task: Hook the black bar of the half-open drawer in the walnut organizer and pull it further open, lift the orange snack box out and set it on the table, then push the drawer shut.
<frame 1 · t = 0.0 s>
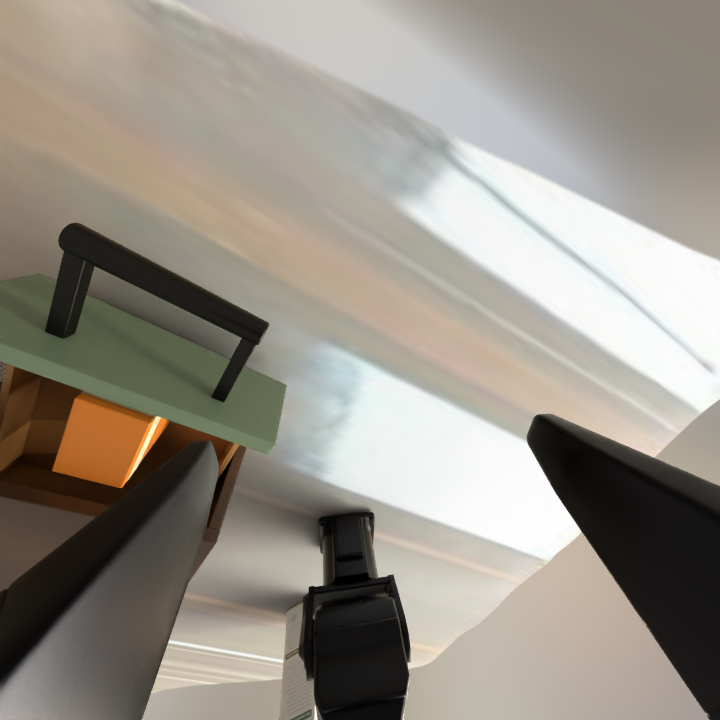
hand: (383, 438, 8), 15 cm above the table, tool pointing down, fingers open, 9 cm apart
drawer: (132, 419, 18), point 4 cm above the table, slide at 6.5 cm, touching snack box
organizer: (126, 470, 25), on the table
snack box: (157, 387, 20), point 2 cm above the table, touching drawer
syrup box: (314, 606, 41), on the table
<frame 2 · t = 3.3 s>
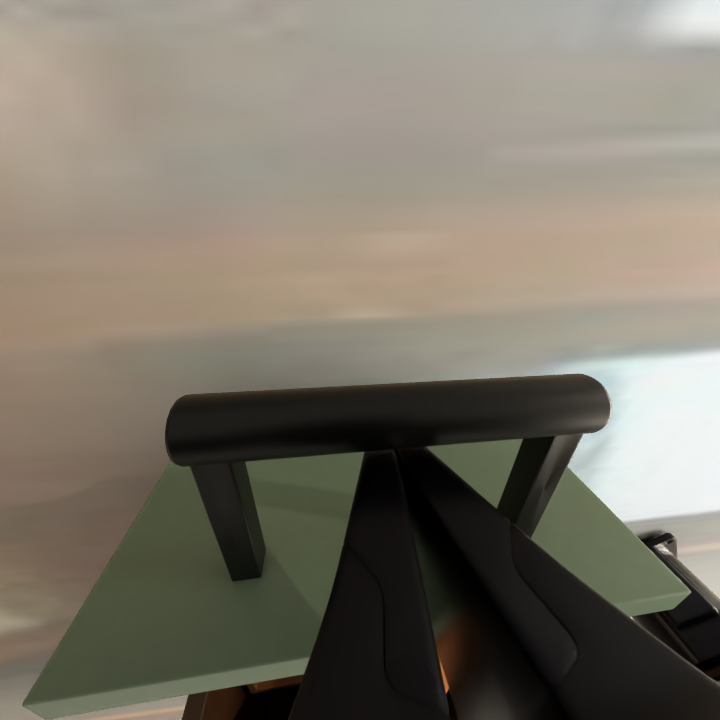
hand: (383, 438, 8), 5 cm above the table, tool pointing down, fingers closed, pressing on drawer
drawer: (373, 589, 12), point 4 cm above the table, slide at 8.0 cm, touching gripper
organizer: (357, 602, 21), on the table
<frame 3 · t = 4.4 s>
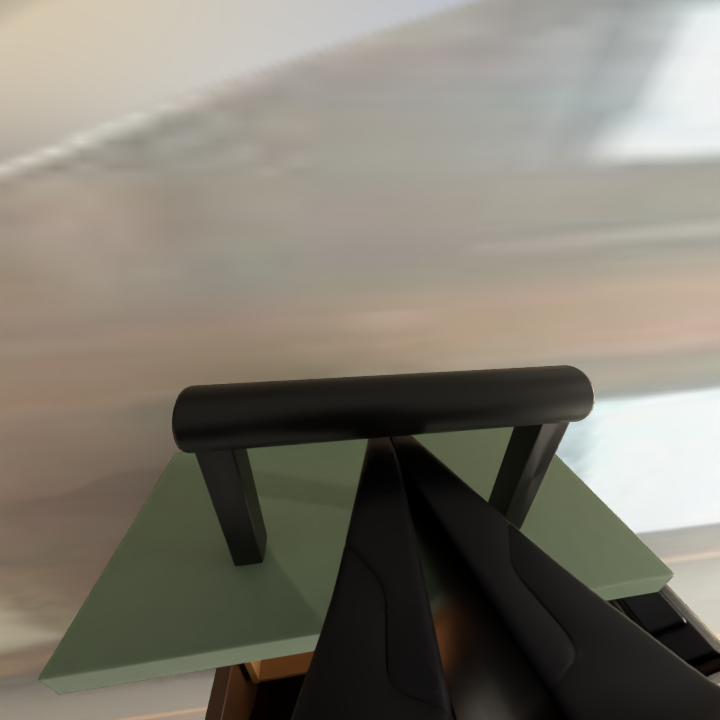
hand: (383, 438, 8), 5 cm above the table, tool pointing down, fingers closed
drawer: (372, 579, 12), point 4 cm above the table, slide at 10.9 cm, touching snack box
organizer: (357, 613, 23), on the table
when the fingers open (1 cm above the table, at t = 14.4 s): snack box stays where it is, on the table.
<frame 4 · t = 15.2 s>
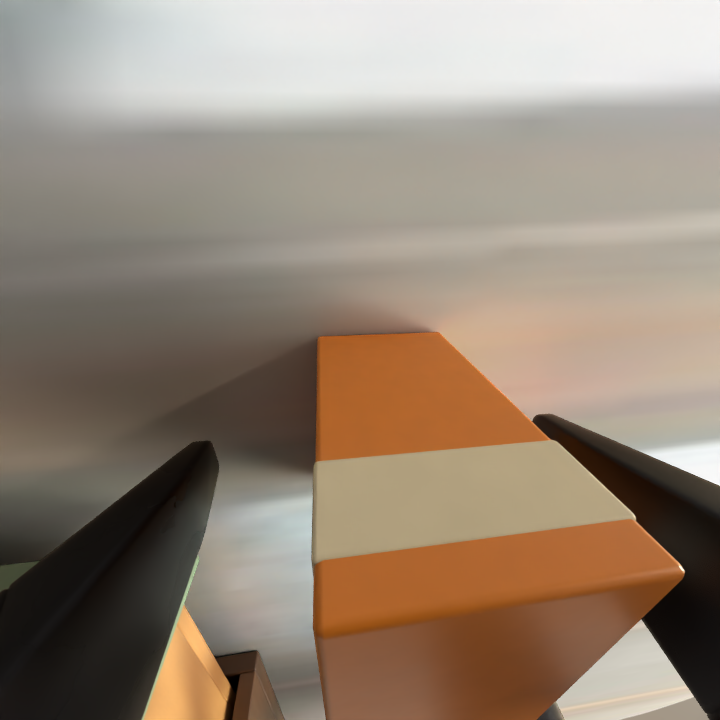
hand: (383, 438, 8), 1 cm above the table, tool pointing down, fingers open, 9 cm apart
snack box: (375, 413, 9), on the table
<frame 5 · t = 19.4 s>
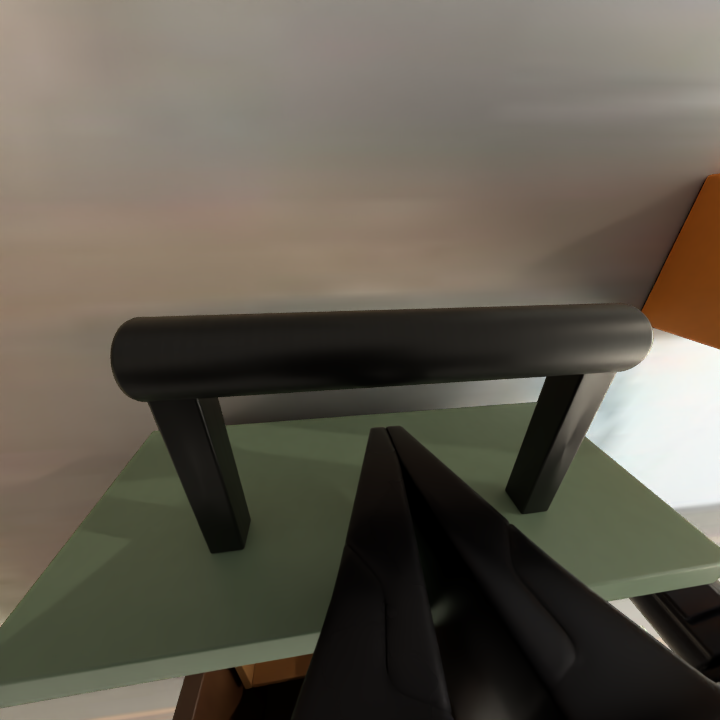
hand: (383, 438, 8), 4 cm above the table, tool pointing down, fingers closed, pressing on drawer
drawer: (374, 572, 11), point 4 cm above the table, slide at 8.7 cm, touching gripper
organizer: (358, 599, 20), on the table
snack box: (702, 256, 11), on the table
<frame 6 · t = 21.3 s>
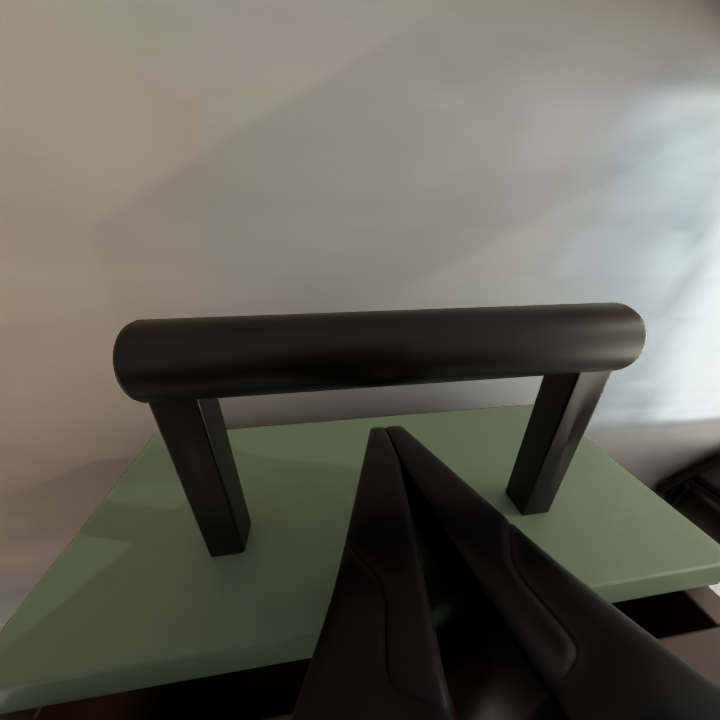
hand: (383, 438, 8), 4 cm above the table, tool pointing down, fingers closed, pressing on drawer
drawer: (375, 577, 11), point 4 cm above the table, slide at -0.1 cm, touching gripper
organizer: (360, 531, 16), on the table
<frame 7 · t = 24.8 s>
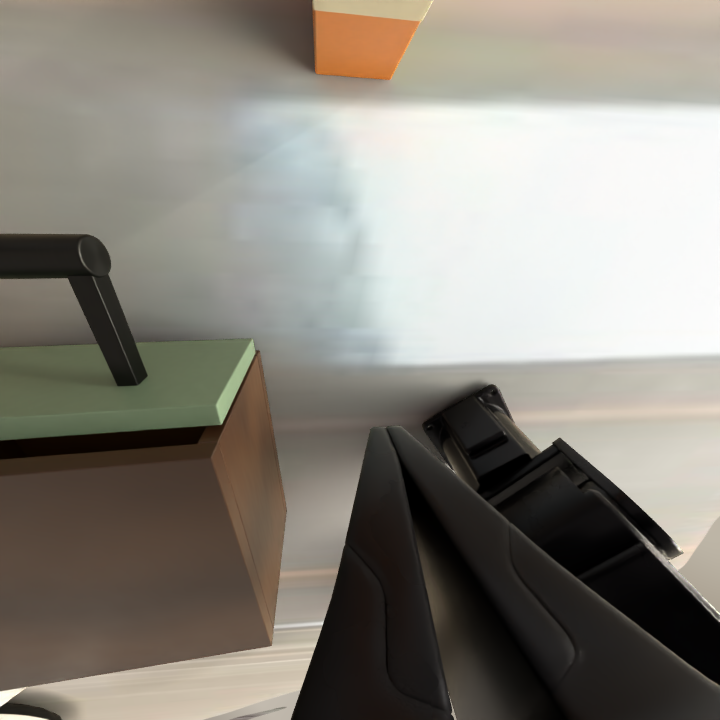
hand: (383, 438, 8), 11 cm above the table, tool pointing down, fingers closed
drawer: (99, 458, 15), point 4 cm above the table, slide at 0.0 cm
milk container: (1, 712, 36), on the table
roll: (12, 637, 29), on the table
organizer: (164, 452, 20), on the table
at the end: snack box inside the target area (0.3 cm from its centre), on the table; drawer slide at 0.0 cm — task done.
